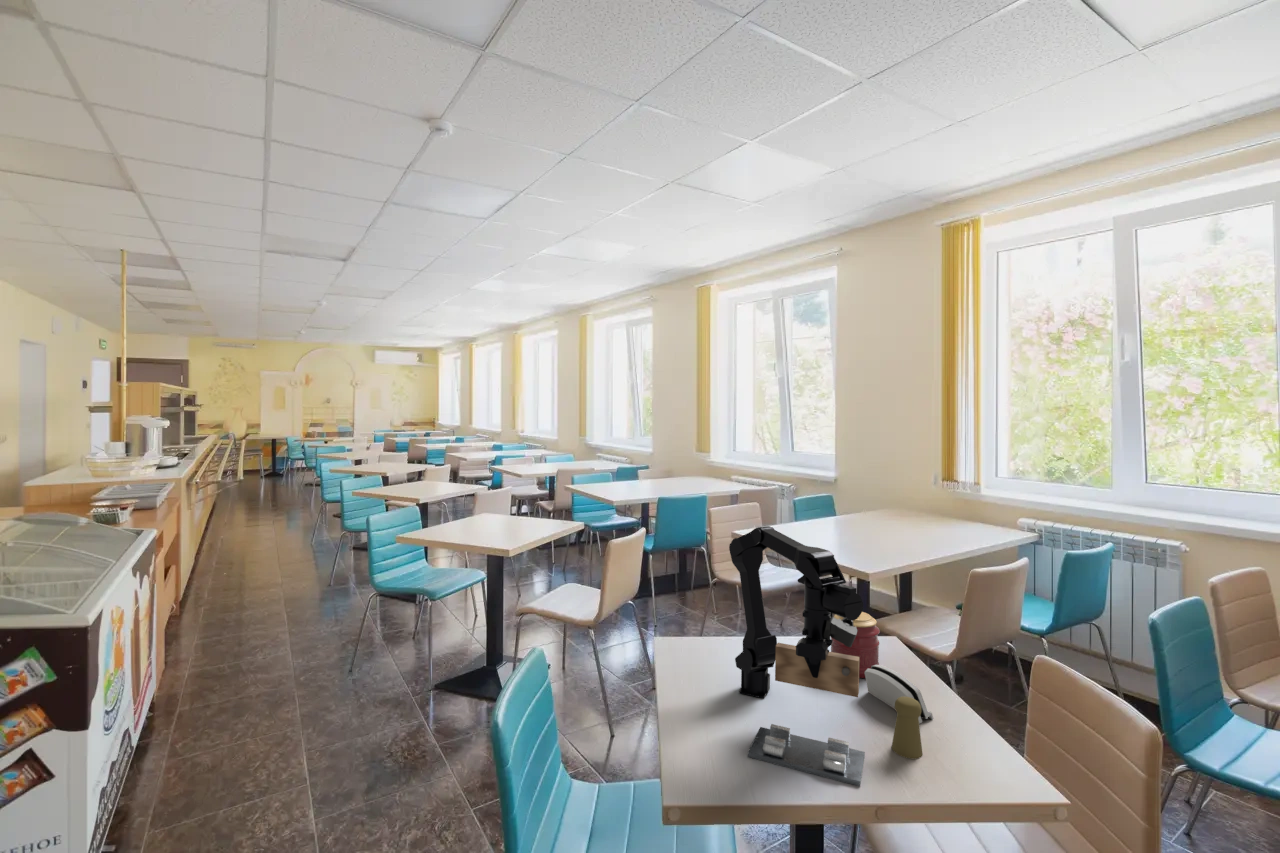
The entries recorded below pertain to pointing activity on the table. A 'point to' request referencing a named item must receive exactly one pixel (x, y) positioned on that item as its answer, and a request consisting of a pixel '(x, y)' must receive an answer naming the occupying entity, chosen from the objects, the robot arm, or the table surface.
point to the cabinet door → (833, 674)
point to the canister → (861, 643)
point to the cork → (907, 728)
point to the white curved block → (893, 688)
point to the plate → (808, 754)
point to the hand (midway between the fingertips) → (816, 675)
